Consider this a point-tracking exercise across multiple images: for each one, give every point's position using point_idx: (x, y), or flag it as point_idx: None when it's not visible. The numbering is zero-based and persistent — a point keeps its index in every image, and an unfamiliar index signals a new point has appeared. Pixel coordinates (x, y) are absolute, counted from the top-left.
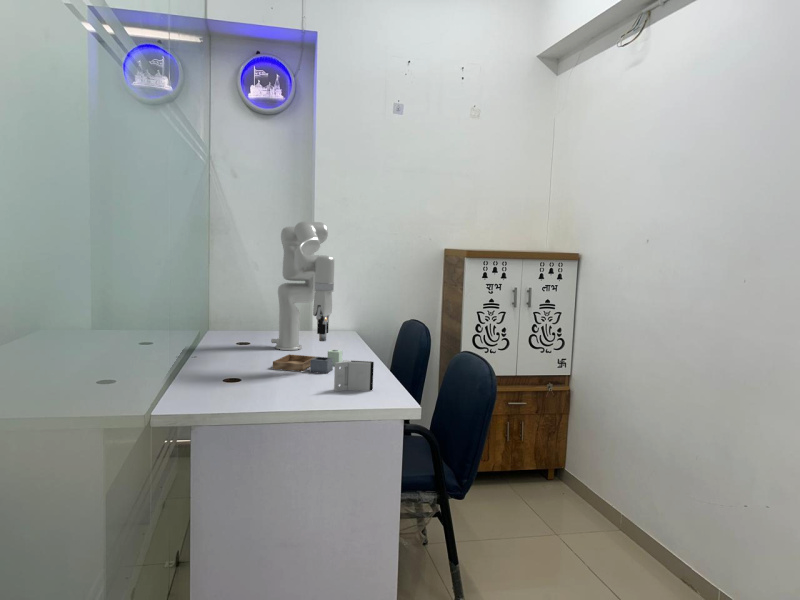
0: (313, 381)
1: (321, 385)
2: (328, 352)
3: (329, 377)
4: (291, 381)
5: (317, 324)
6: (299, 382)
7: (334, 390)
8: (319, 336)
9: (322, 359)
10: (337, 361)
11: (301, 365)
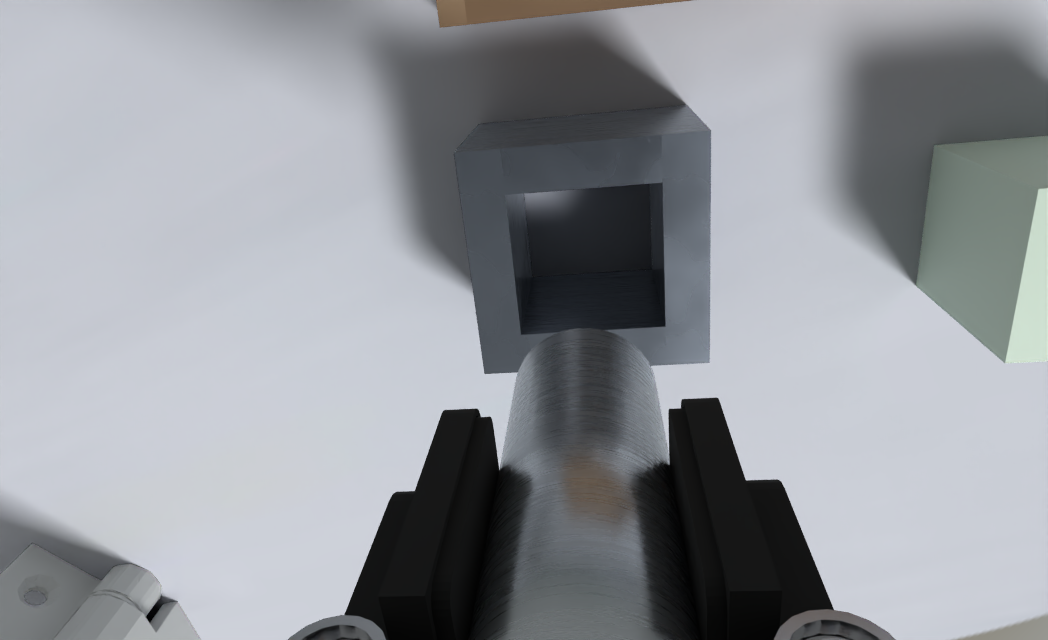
0: (159, 317)
1: (93, 422)
2: (1025, 198)
3: (372, 383)
4: (22, 135)
5: (386, 580)
6: (46, 222)
7: (26, 549)
8: (527, 392)
9: (660, 233)
10: (944, 291)
11: (441, 11)
